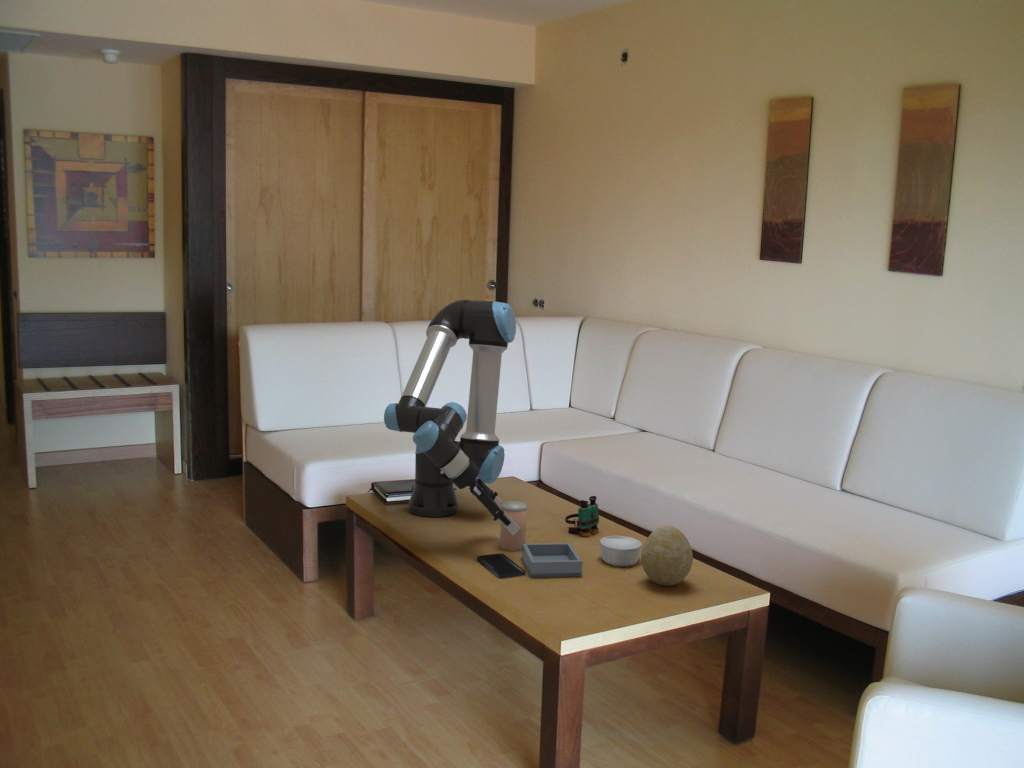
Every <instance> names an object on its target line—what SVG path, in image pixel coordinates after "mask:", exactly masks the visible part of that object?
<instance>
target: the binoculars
mask: <svg viewBox="0 0 1024 768" xmlns="http://www.w3.org/2000/svg"><path fill="white" fill-rule="evenodd" d="M596 501H597V496H596V495H591V496H589V498H588V500H583V499H581V500H580V504H581V506H580V507H578V510H577V513H572V514H570V515H567V516H565V518H564V519H565V521H564V522H565V523H566V524H569V525H573V526H569V527H567V529H568V532H569V533H580V535H581V536H583V537H587V538H588V537H591V533H593V534H598V533H599V531H600V530H599V527H598V524H599V523H600V516H599V507H598V503H597V502H596ZM576 518H577V519H576ZM570 519H573V520H570Z"/></svg>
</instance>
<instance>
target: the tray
mask: <svg viewBox="0 0 1024 768" xmlns="http://www.w3.org/2000/svg"><path fill="white" fill-rule="evenodd" d="M521 559H522V562H523V564H524V565H525V568H526V570H527V572H528V574H529V576H530V578H531V579H533V578H575V577H576V578H577V577H578V578H579V577H581V578H582V575H583V573H582V572H583V560H582V559H581V557H580V556H579V554H578V552H577V550H576V549H575V548H574V546H573V545H572V543H571V542H553V543H552V542H551V543H550V542H548V543H547V542H543V543H542V542H541V543H536V542H535V543H525V544H522V550H521Z"/></svg>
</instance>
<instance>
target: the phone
mask: <svg viewBox="0 0 1024 768" xmlns="http://www.w3.org/2000/svg"><path fill="white" fill-rule="evenodd" d="M476 561H477V562H478V563H479V564H481V565H482V566H483V567H484V568H485V569H487V570H488V571H489V572H490V573H491V574H492V575H493V576H495V577H496V578H498V579H501V580H502V579H510V578H516V577H517V578H518V577H523V576H526V570H525V569H523V568H522V567H521V566H520V565H518V564H517V562H514V561H513V560H512V559H511V558H510V557H508V555H505V554H504V553H492V554H484V555H483V554H482V555H477V556H476Z"/></svg>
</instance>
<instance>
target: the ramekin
mask: <svg viewBox="0 0 1024 768" xmlns="http://www.w3.org/2000/svg"><path fill="white" fill-rule="evenodd" d="M599 546H600V555H601V560H604V561H605V562H604V561H603V562H604V563H606V564H608V565H611V564H612V565H611V566H615V565H617V566H616V567H629V565H631V566H633V564H634V565H635V564H637V562H638V560H639V558H640V557H639V556H640V553H641V550H642V548H643V545H642V542H641V541H640V540H639V539H637V538H634V537H632V536H631V537H630V536H623V535H608V536H604V537H602V538H601V539H600V540H599Z"/></svg>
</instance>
